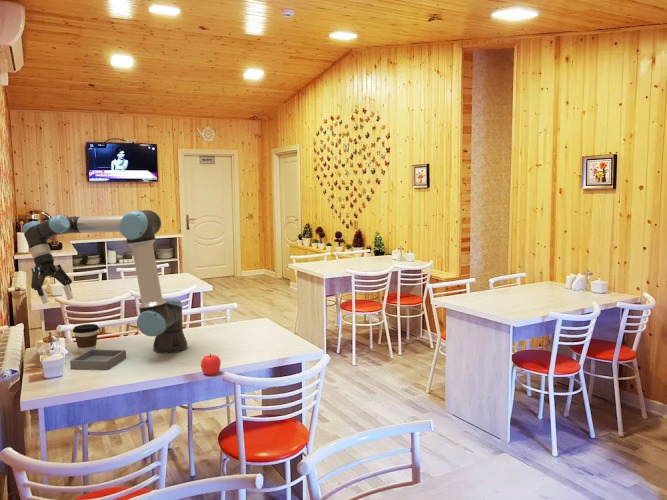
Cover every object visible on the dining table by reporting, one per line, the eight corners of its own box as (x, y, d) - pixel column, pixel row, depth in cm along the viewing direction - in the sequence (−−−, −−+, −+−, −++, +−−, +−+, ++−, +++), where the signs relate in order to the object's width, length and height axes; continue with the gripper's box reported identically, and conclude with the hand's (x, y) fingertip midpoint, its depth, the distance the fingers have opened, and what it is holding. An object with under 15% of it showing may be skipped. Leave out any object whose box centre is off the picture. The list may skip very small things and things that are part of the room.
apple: (196, 375, 215) (196, 355, 214) (208, 369, 222) (207, 350, 221) (214, 377, 212) (213, 357, 211) (225, 371, 219) (224, 351, 218)
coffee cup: (68, 354, 245) (66, 328, 243) (88, 347, 254) (87, 322, 253) (85, 357, 240) (84, 330, 239) (105, 350, 250) (104, 325, 249)
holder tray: (91, 357, 240) (91, 349, 239) (126, 358, 238) (125, 350, 238) (70, 369, 224) (70, 360, 224) (107, 369, 222) (107, 361, 222)
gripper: (58, 258, 251) (74, 300, 249) (11, 260, 227) (28, 307, 225) (70, 251, 249) (86, 294, 247) (24, 253, 225) (41, 301, 223)
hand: (58, 301), depth 236 cm, fingers open, 13 cm apart
